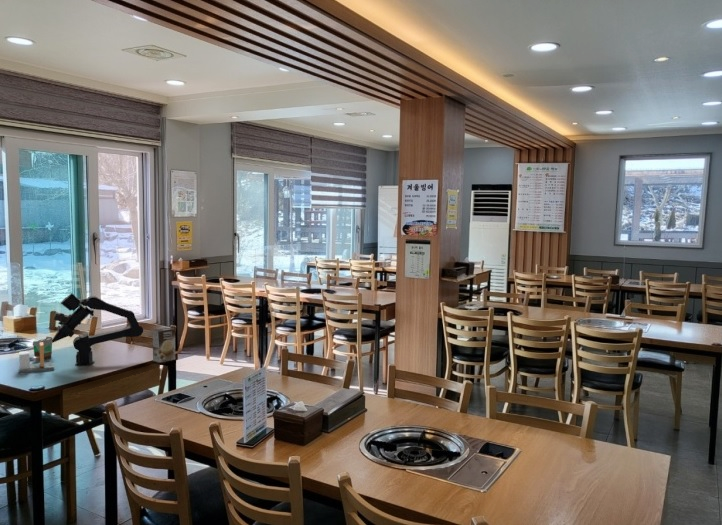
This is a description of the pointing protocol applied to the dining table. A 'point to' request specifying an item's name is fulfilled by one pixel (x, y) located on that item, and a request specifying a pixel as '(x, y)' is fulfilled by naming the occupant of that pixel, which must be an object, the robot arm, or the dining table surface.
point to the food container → (47, 348)
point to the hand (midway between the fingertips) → (52, 341)
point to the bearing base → (28, 368)
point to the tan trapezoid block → (41, 357)
